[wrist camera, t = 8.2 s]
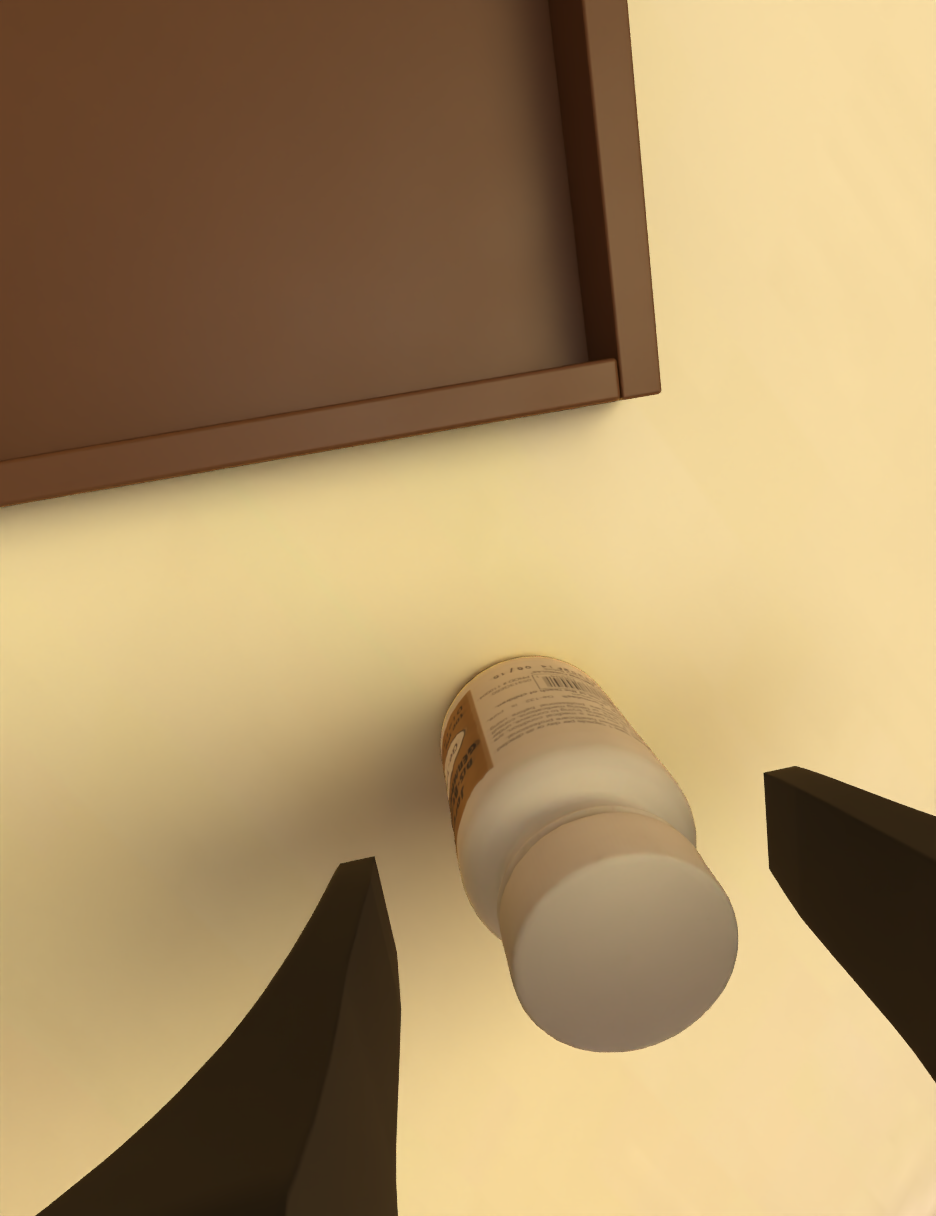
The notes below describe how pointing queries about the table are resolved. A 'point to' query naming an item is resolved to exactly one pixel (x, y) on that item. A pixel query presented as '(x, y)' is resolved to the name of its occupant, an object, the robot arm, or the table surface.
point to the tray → (309, 228)
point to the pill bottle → (582, 859)
